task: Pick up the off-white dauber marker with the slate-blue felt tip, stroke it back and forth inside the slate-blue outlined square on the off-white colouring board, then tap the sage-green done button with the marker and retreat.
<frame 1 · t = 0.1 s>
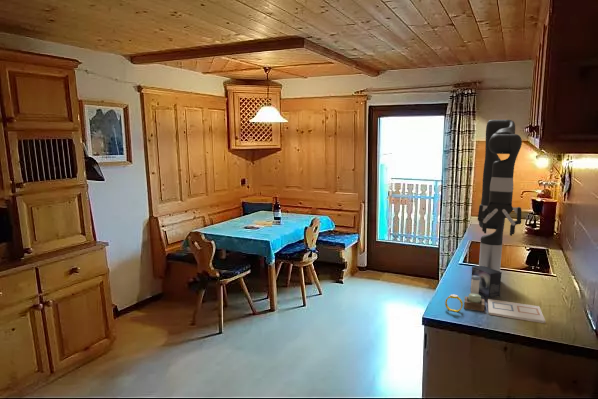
hand: (497, 234, 153), 29 cm above the worktop, fingers open, 8 cm apart
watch: (453, 311, 156), on the worktop
small box: (484, 293, 177), on the worktop
done button: (474, 299, 160), point 3 cm above the worktop, slide at 0.0 cm
button housing: (473, 306, 160), on the worktop
colouring board: (514, 311, 157), on the worktop
marker: (474, 298, 170), on the worktop
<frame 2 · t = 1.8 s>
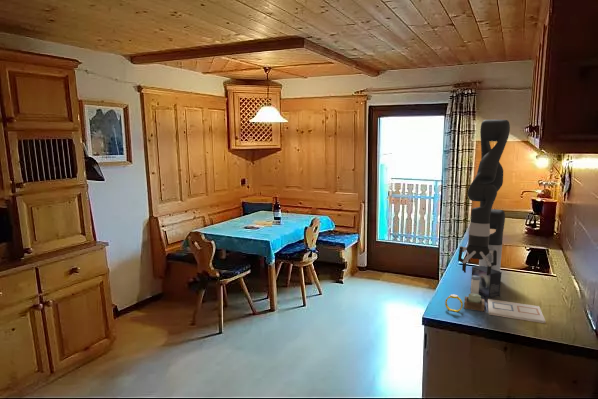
hand: (476, 273, 169), 10 cm above the worktop, fingers open, 8 cm apart
nothing on the worktop moved.
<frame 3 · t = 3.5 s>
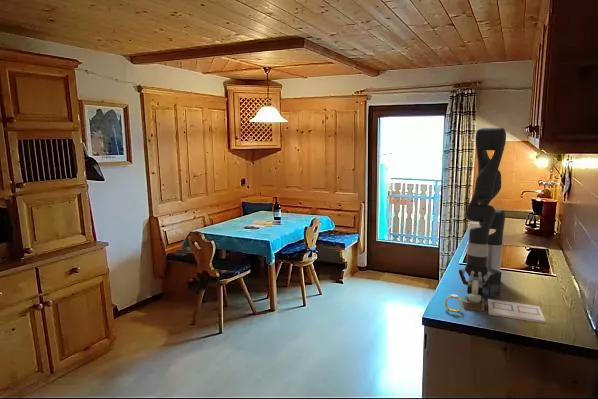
hand: (474, 295, 170), 1 cm above the worktop, fingers closed on marker, 3 cm apart
marker: (474, 298, 170), on the worktop, touching gripper
everything else where it was.
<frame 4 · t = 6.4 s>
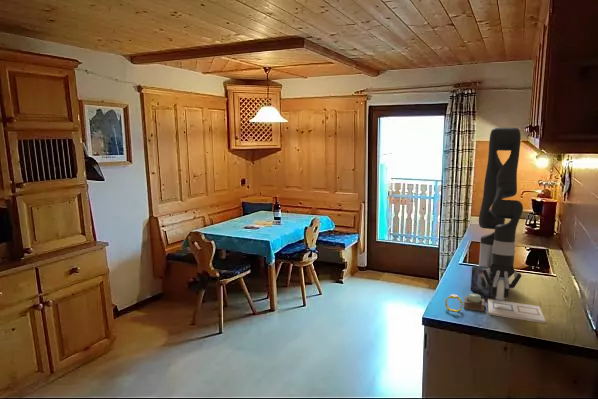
hand: (499, 296, 160), 4 cm above the worktop, fingers closed on marker, 3 cm apart
marker: (499, 299, 160), point 3 cm above the worktop, touching gripper
everything else where it was.
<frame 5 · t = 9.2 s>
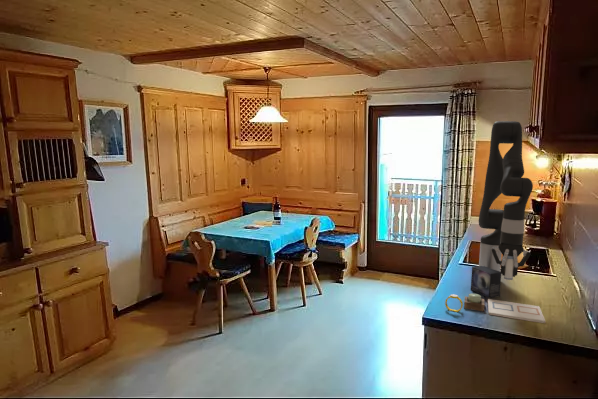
hand: (508, 275, 159), 13 cm above the worktop, fingers closed on marker, 3 cm apart
marker: (508, 278, 159), point 12 cm above the worktop, touching gripper
everything else where it was.
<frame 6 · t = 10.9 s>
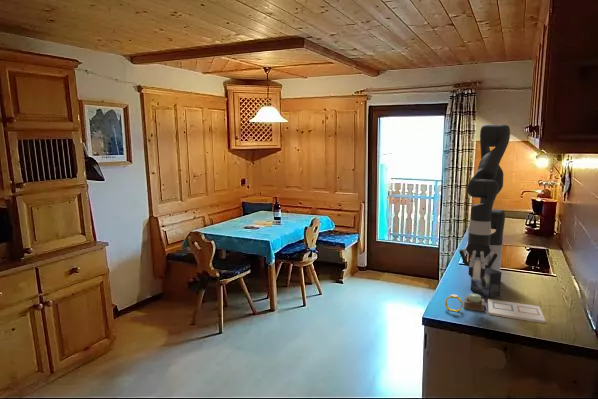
hand: (476, 277, 159), 12 cm above the worktop, fingers closed on marker, 3 cm apart
marker: (476, 280, 159), point 11 cm above the worktop, touching gripper
everything else where it was.
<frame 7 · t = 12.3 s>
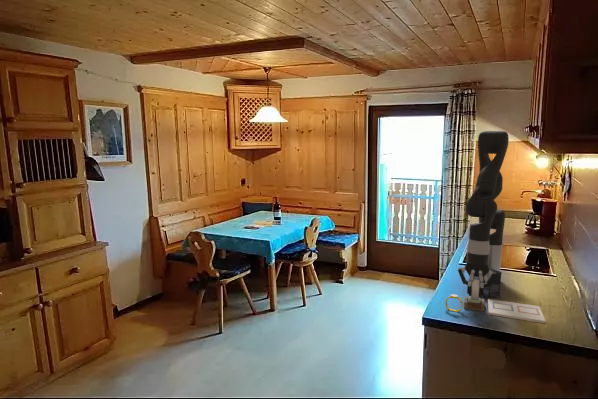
hand: (474, 295, 160), 4 cm above the worktop, fingers closed on marker, 3 cm apart
done button: (474, 302, 160), point 2 cm above the worktop, slide at 1.3 cm, touching marker
marker: (474, 298, 160), point 3 cm above the worktop, touching done button, gripper
everything else where it was.
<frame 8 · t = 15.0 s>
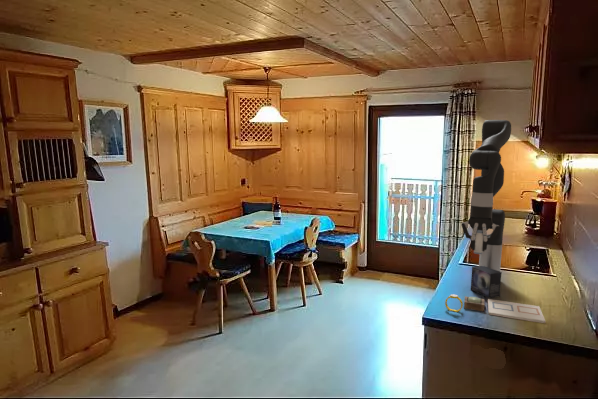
hand: (478, 250, 158), 22 cm above the worktop, fingers closed on marker, 3 cm apart
done button: (474, 302, 160), point 2 cm above the worktop, slide at 1.3 cm
marker: (478, 253, 158), point 21 cm above the worktop, touching gripper
everything else where it was.
at the end: done button slide at 1.3 cm; the gripper is holding marker; marker tilted 0° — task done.
